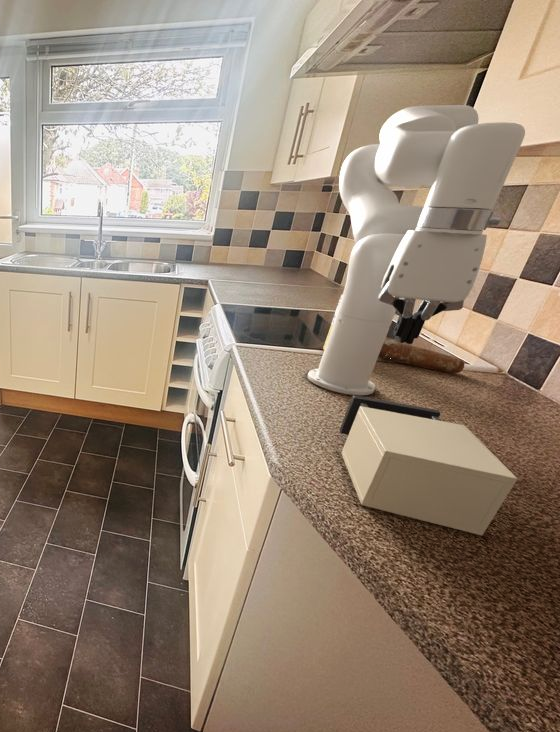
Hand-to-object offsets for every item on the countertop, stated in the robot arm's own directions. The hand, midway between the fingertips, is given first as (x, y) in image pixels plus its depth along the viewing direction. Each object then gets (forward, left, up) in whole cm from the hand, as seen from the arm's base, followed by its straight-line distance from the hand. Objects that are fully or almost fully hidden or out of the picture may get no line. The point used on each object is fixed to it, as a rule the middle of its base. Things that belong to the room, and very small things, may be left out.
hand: (402, 341), depth 69 cm
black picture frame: (+10, 0, -15) cm, 19 cm away
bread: (-45, +19, -16) cm, 52 cm away
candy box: (-45, +4, -16) cm, 48 cm away
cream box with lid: (+20, 0, -16) cm, 26 cm away
